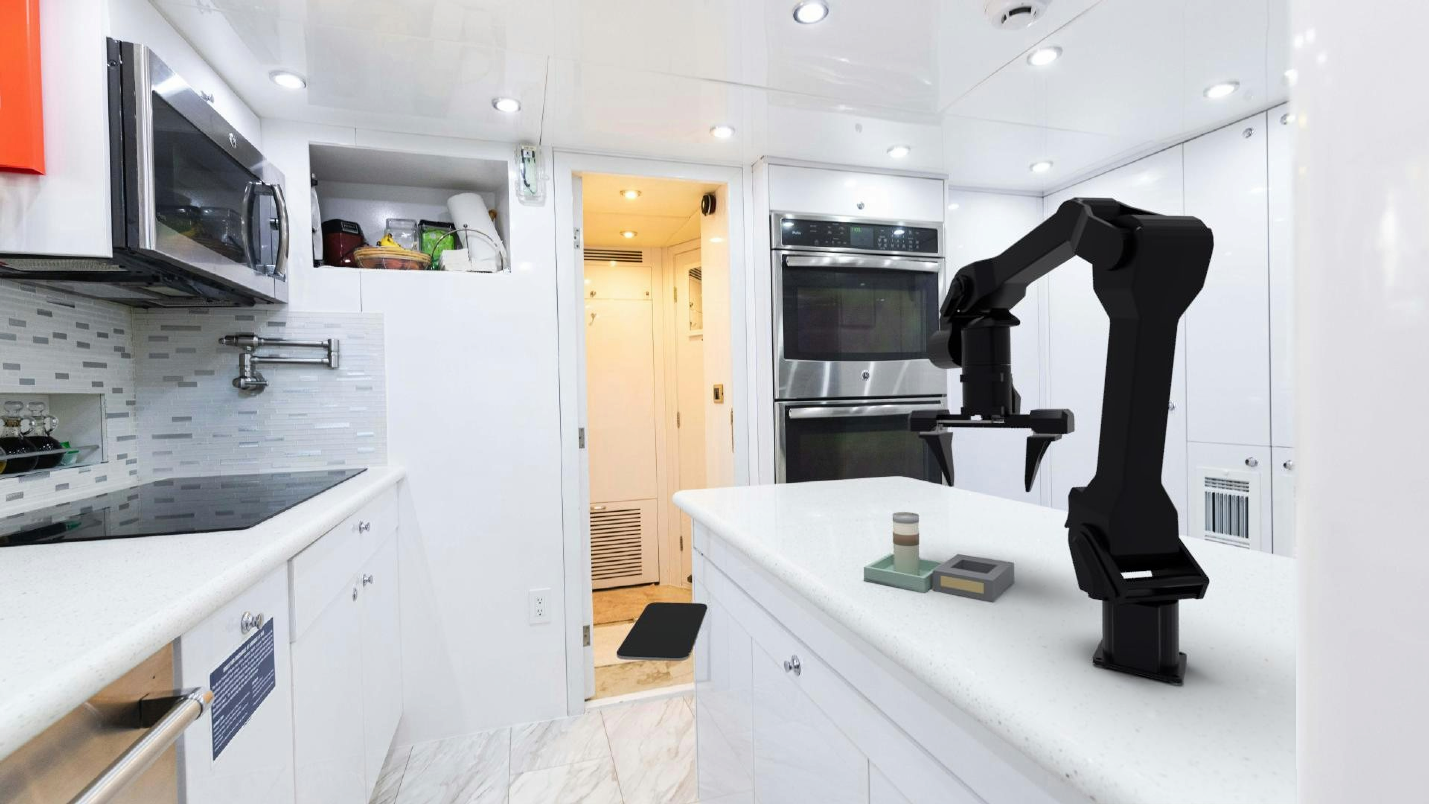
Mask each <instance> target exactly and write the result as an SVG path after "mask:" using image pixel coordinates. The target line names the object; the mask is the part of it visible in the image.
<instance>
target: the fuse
mask: <svg viewBox="0 0 1429 804" xmlns="http://www.w3.org/2000/svg"><path fill="white" fill-rule="evenodd" d="M919 523H920V515H919V514H918V513H915V512H909V511H907V512H905V511H901V512H899V511H898V512H893V513H892V545H893V549H892V550H893V554H894V571H895V572H900V573H906V574H911V575H917V576H920V575H919V558H920V531H919V530H920V528H919V525H920V524H919Z"/></svg>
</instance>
